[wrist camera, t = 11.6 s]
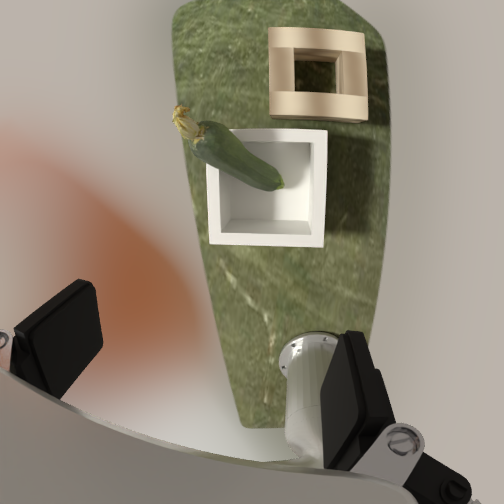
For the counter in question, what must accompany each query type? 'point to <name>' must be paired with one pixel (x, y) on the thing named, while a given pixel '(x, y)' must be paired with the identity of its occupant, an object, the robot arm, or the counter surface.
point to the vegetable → (226, 152)
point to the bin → (272, 192)
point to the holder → (324, 50)
